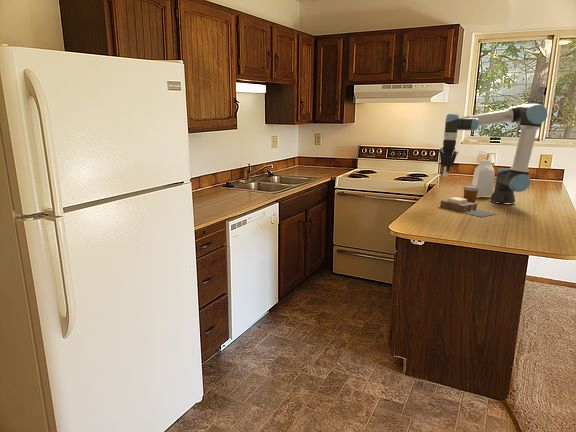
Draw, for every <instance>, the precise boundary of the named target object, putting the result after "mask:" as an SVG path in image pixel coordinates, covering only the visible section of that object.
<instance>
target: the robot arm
mask: <svg viewBox="0 0 576 432" xmlns="http://www.w3.org/2000/svg"><path fill="white" fill-rule="evenodd" d="M547 118H548V110H547V108H546V107H545V106H544V105H543V104H539V103H525V104H520V105H516V106H512V107H507V108H506V109H504V110H499V111H491V112H486V113H485V112H484V113H479V114H472V115H467V116H460V114H458V113H456V114H454V113H453V114H452V113H448V114H447V115H446V119H445V122H444V123H445V124H444V134H443V142H442V148H441V149H438V152H439V157H440V158H439V159H440V165H441V166H443V167H442V173H443V174H442V177H443V178H448V177H449V172H450V169H451V167H453V166H454V164H455V160H456V158H457V155H458V154H459V150H458V151H457V150H456V144H457V138H458V131H476V130H478V128H479V127H483V126H488V125H494V124H502V123H509V124H513V123H519V127H520V128H521V129H520V133H519V137H518V142H517V147H516V150H515V155H514V158H513V163H512V166H511V167H510V168H498V169H497V172H496V177H495V178H496V179H495V183H494V186H495V187H494V189H493V194H492V196H491V198H489V201H490V200H491V201H494V202H499V203H514V202H515V203H516V197H515V192H517V193H521V192H522V193H523V192H524V191H526V190H527V189H529V187H530V184H531V178H530V176H529V175H530V170H529V163H530V160H531V155H532V151H533V147H534V143H535V140H536V135H537V131H538V130H539V129H541V127H542V124H543V123H544V122H545V121H546V120H547ZM491 201H490V202H491Z"/></svg>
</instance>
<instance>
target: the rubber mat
mask: <svg viewBox="0 0 576 432" xmlns="http://www.w3.org/2000/svg"><path fill="white" fill-rule="evenodd" d="M462 214H466V215H470V216H475V217H479V218H484V217H490V215H491V216H495V214H496V213H494V212H490V211H486V210H482V209H476V210H473V211H467V212H462Z"/></svg>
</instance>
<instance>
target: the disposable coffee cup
mask: <svg viewBox="0 0 576 432" xmlns="http://www.w3.org/2000/svg"><path fill="white" fill-rule="evenodd" d="M478 191H479V187H477V186H472V184H471V185H469V184H467V185H464V187H463V199H467V202H472V203H476V200H477V198H478V197H477V193H478Z"/></svg>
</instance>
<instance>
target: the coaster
mask: <svg viewBox="0 0 576 432" xmlns="http://www.w3.org/2000/svg"><path fill="white" fill-rule="evenodd" d="M447 200H448V201H449V202H453V203H458V204H461V203H467V199H464V197H463V198H462V197H457V196H454V197H447Z"/></svg>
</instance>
